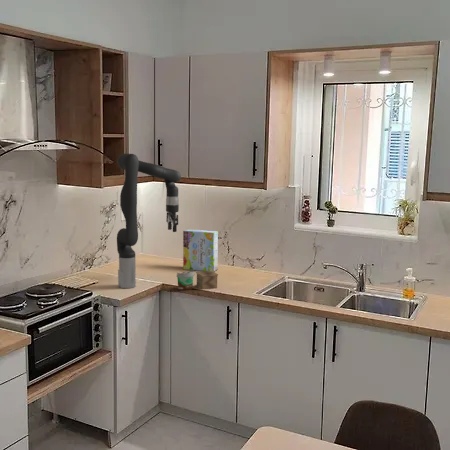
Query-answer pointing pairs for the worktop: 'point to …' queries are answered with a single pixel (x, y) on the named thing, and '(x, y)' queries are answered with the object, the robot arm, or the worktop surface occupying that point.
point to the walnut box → (207, 279)
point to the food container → (185, 280)
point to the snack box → (200, 250)
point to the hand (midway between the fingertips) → (172, 230)
